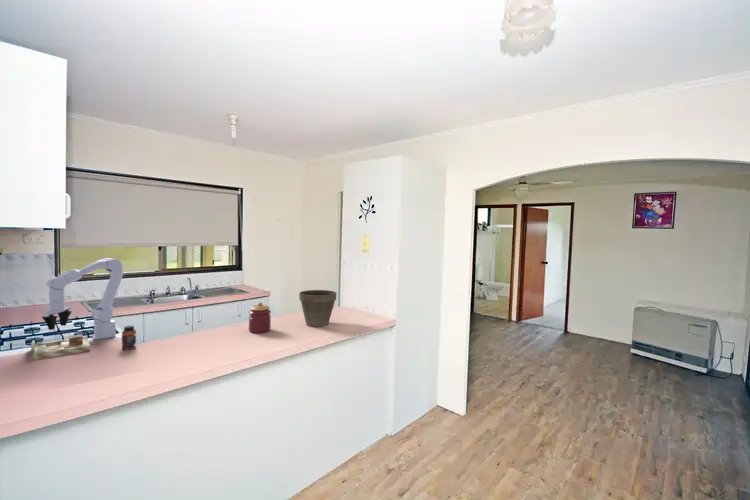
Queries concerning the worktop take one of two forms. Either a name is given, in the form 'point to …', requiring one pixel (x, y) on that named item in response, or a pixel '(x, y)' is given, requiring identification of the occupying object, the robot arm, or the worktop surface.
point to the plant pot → (317, 306)
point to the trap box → (57, 348)
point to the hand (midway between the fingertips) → (57, 327)
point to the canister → (259, 318)
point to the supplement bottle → (128, 338)
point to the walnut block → (75, 340)
